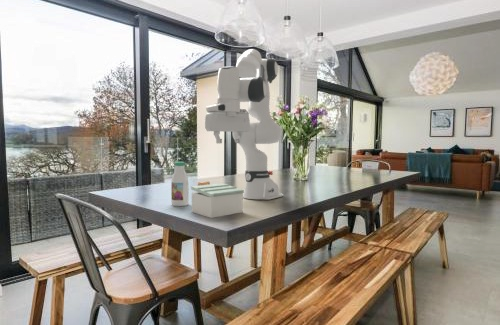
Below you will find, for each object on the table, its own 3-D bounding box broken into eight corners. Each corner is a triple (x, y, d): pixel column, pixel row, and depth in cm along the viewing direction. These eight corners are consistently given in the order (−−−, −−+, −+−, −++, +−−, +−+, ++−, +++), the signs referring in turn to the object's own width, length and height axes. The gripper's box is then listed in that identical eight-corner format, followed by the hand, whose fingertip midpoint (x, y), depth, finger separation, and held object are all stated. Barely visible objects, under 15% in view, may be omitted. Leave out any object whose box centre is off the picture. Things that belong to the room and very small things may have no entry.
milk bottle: (181, 202, 157) (181, 161, 156) (192, 204, 152) (191, 161, 151) (168, 205, 151) (167, 161, 150) (178, 207, 146) (178, 162, 145)
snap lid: (217, 184, 150) (217, 180, 149) (244, 193, 136) (244, 188, 136) (186, 187, 139) (186, 182, 138) (212, 197, 125) (212, 192, 125)
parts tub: (222, 207, 147) (222, 189, 147) (242, 212, 137) (242, 193, 136) (191, 212, 137) (191, 193, 136) (211, 217, 126) (211, 197, 126)
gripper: (243, 110, 138) (243, 143, 139) (202, 106, 124) (202, 143, 125) (253, 109, 133) (253, 143, 134) (212, 105, 119) (212, 143, 120)
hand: (228, 143), depth 129 cm, fingers open, 8 cm apart
